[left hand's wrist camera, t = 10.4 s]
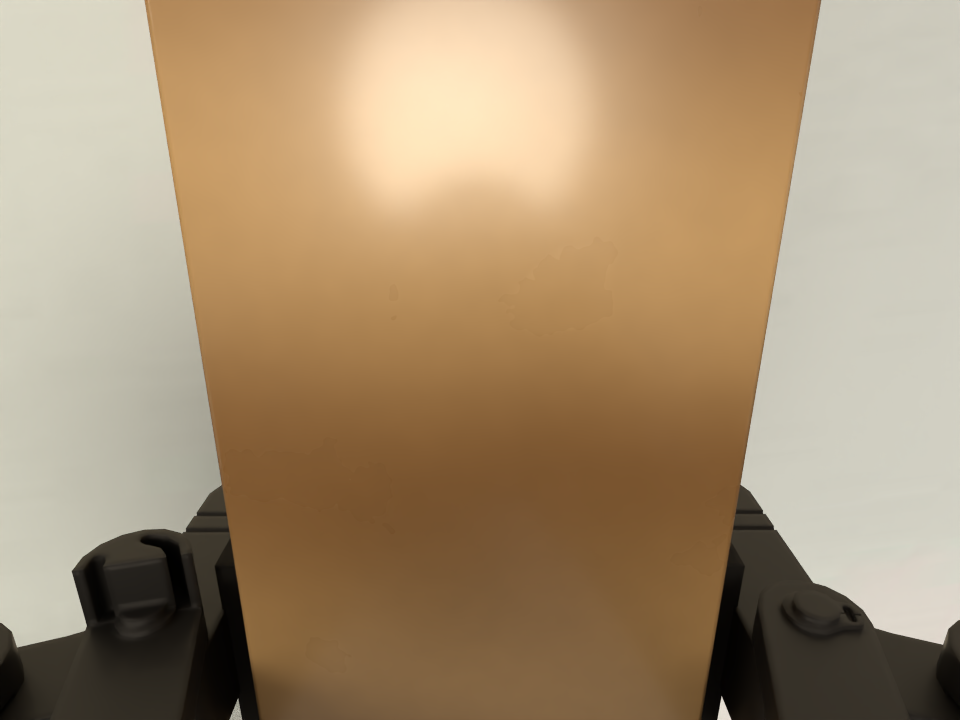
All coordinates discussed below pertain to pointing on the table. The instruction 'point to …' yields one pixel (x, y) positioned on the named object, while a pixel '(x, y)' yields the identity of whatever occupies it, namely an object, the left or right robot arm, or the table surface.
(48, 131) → the table surface
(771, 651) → the left robot arm
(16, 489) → the table surface
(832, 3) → the table surface
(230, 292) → the post
